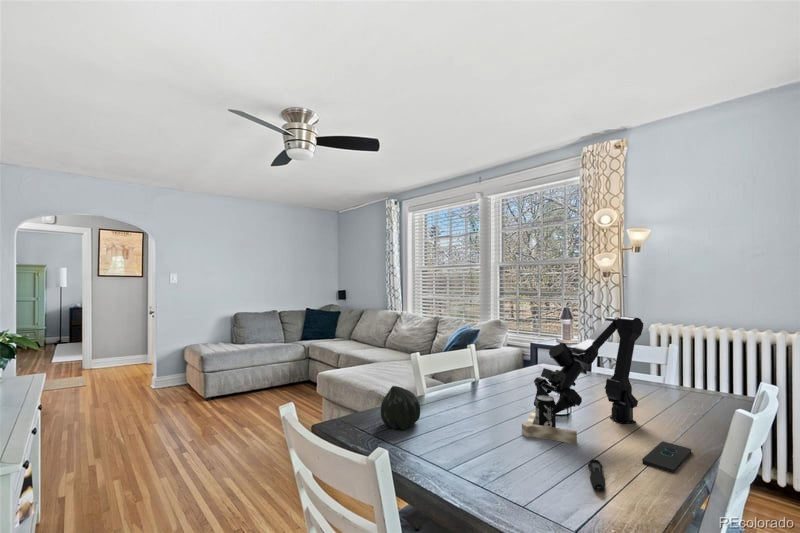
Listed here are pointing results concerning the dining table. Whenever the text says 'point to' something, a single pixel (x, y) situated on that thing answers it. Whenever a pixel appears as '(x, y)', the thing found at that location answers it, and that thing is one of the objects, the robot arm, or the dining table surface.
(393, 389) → the squash
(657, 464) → the smart home device
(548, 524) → the dining table surface
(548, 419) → the beverage can
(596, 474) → the electric trimmer
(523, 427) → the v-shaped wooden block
